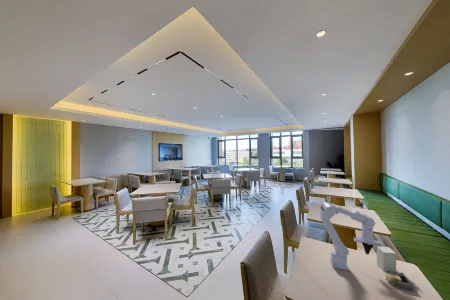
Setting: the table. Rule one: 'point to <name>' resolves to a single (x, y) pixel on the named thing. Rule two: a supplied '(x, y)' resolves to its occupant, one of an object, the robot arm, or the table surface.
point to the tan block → (392, 279)
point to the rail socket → (406, 283)
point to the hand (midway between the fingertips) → (366, 253)
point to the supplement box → (386, 259)
